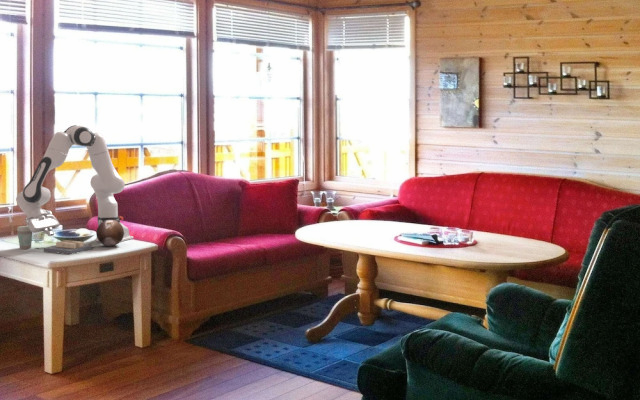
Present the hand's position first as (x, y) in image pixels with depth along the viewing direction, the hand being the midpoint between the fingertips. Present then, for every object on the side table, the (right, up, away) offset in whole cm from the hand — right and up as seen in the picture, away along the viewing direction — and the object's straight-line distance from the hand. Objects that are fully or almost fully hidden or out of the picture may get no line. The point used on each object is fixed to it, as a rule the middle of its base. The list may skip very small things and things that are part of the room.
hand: (51, 235), depth 448 cm
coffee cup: (-15, -7, +2) cm, 17 cm away
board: (+10, -8, -3) cm, 13 cm away
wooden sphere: (+29, -7, +12) cm, 32 cm away
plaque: (+6, -4, -2) cm, 7 cm away
